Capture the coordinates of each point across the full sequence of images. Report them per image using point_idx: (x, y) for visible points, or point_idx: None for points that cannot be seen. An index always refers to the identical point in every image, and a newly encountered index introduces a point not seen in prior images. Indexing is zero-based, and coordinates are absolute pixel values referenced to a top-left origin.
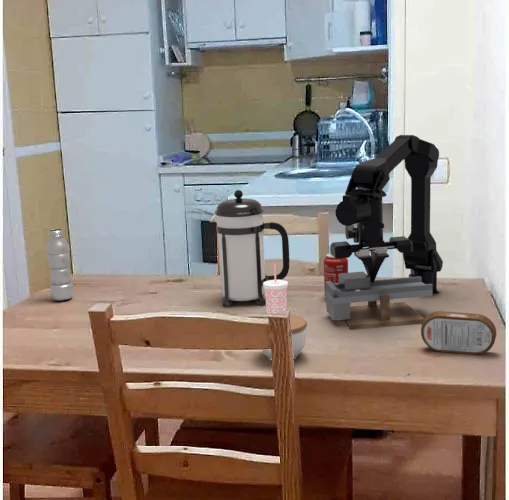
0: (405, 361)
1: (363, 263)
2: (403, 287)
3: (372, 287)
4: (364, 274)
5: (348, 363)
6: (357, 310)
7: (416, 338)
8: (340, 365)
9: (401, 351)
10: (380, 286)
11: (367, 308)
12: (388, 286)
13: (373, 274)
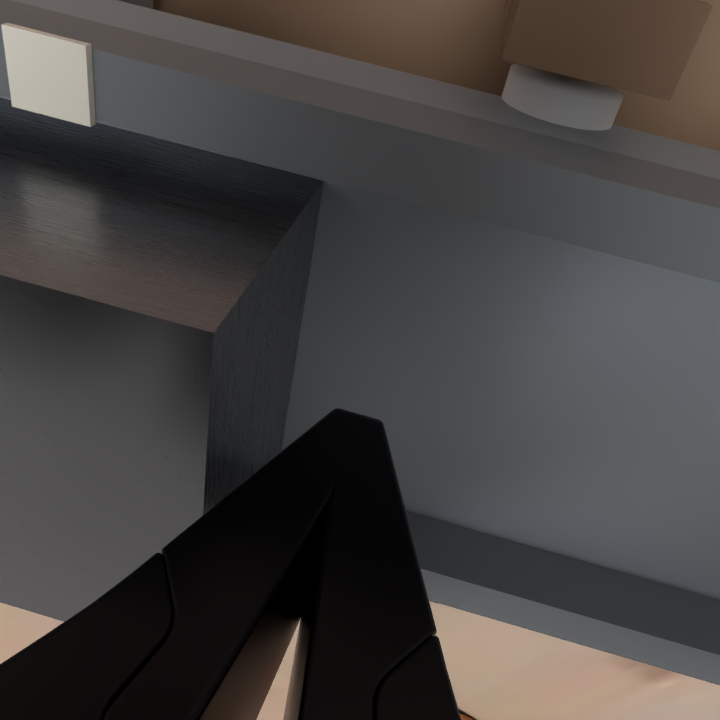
0: (259, 712)
1: (24, 681)
2: (668, 666)
3: (452, 263)
4: (158, 522)
5: (47, 632)
6: (331, 35)
7: (450, 619)
8: (15, 629)
9: (291, 664)
10: (603, 285)
11: (474, 19)
12: (710, 355)
13: (297, 638)
